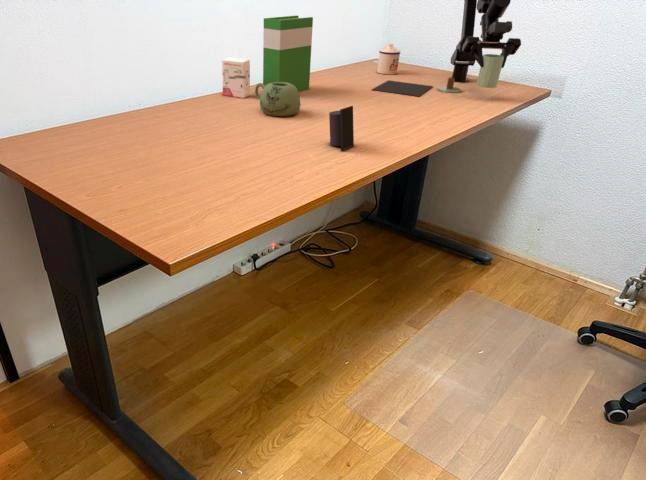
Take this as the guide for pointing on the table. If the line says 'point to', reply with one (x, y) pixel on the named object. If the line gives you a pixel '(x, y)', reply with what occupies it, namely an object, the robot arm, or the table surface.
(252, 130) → the table surface
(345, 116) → the speaker
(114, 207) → the table surface
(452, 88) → the lid
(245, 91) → the ink box
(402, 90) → the mat
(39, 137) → the table surface
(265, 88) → the mug
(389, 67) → the teacup with lid
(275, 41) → the hardback book
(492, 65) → the canister
